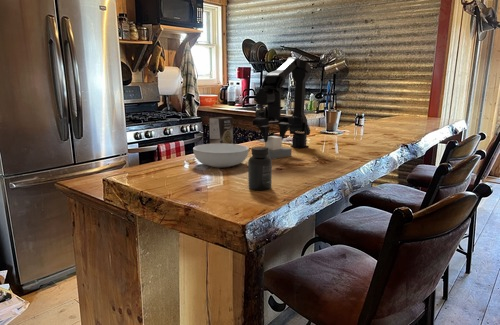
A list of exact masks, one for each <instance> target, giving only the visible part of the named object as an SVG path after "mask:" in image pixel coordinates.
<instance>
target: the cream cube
mask: <svg viewBox="0 0 500 325" xmlns="http://www.w3.org/2000/svg"><path fill="white" fill-rule="evenodd" d="M282 143H283V140H282V137H280V136H279V135H278V136H276V135H270V136H269V135H268V140H267V142H265V141H264V147H267V148H268V149H270V150H277V149H282V147H283V144H282Z"/></svg>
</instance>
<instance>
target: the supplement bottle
mask: <svg viewBox="0 0 500 325" xmlns="http://www.w3.org/2000/svg"><path fill="white" fill-rule="evenodd" d="M268 154H269V153H268V148H267V147H265V146H255V147H252V148H251V155H252V156H250V157H249V159H248V160H247V162H248V165H247V166H248V170H247V172H248V173H247V174H248V180H247V182H248V189H249V190H251V191H254V192H257V191H258V192H264V191H269V190H271V188H272V180H273V178H272V171H273V169H272V167H273V164H272V163H273V162H272V161H273V159H271V158H270V157H268Z"/></svg>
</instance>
